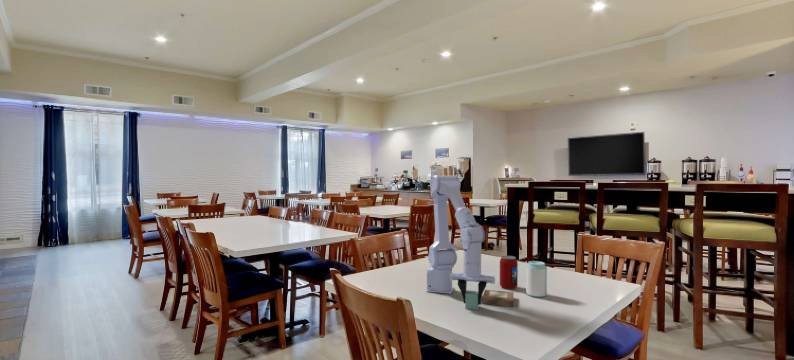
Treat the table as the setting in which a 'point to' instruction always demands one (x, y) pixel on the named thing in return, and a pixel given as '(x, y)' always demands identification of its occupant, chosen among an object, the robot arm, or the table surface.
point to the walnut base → (498, 298)
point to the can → (536, 279)
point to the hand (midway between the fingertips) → (472, 303)
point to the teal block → (471, 300)
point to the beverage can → (508, 272)
